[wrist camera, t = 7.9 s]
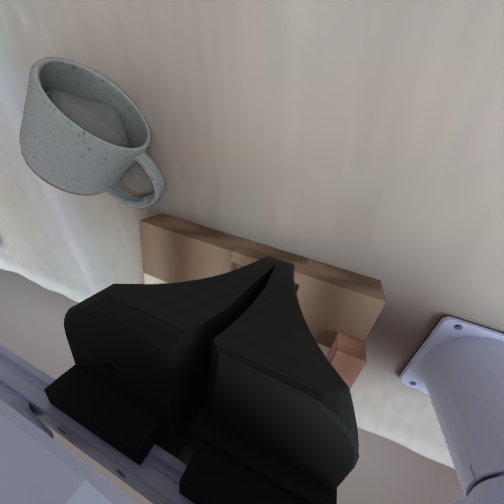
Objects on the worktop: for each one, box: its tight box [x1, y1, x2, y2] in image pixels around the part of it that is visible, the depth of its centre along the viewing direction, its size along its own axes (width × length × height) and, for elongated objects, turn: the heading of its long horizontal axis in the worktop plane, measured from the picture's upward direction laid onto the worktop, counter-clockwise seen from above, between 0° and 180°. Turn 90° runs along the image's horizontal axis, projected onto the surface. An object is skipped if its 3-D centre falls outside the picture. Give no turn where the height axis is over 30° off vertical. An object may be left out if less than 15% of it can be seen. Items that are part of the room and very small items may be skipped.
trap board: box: [140, 214, 386, 389], centre depth 23 cm, size 22×18×5 cm
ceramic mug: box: [20, 57, 164, 208], centre depth 19 cm, size 11×8×8 cm
